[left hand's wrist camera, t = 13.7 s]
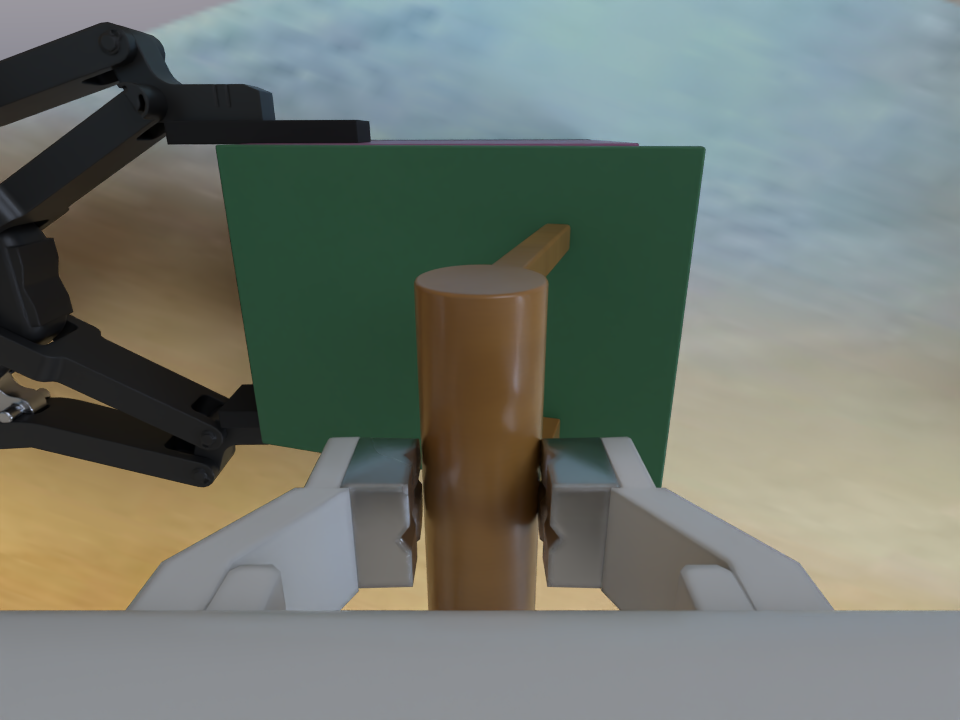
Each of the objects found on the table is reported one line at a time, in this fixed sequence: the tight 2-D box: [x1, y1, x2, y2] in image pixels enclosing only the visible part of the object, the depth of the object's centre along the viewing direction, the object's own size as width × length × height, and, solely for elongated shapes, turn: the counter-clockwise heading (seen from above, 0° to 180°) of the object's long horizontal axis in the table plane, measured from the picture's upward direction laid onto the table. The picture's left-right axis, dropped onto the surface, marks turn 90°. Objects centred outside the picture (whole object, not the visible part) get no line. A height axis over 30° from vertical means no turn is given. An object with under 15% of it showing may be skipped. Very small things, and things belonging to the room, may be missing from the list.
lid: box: [216, 144, 706, 610], centre depth 14 cm, size 14×10×9 cm
